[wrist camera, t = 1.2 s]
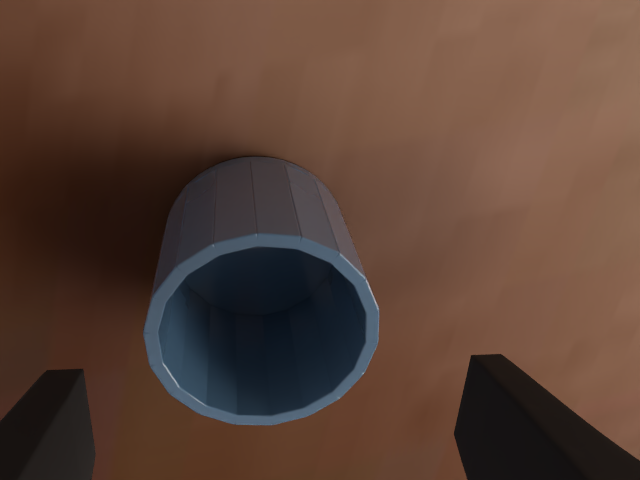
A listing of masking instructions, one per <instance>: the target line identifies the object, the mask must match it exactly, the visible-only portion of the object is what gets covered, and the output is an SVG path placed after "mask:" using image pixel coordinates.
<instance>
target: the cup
mask: <svg viewBox="0 0 640 480" xmlns="http://www.w3.org/2000/svg"><path fill="white" fill-rule="evenodd" d="M143 336H144V341H145V346H146V351H147V356H148V362H149V365H150V367H151V369H152V370H153V372H154V373H155V374H156V376H157V377H158V379H159V380H160V382H161V383H162V385H163V386H164V387H165V389H166V390H167V392H168V393H170V395H171V396H173V397H174V398H176V399H177V400H179V401H180V402H182V403H183V404H184V405H186V406H187V407H189V408H190V409H192V410H193V411H195V412H196V413H199V414H200V415H203V416H207V417H210V418H213V419H217V420H220V421H223V422H227V423H230V424H235V425H271V424H272V425H275V424H279V423H283V422H287V421H291V420H295V419H299V418H303V417H307V416H310V415H311V414H313V413H315V412H317V411H319V410H320V409H322V408H324V407H326V406H328V405H329V404H331V403H333V402H335V401H337V400H338V399H339V398H341V397H342V396H343V395H344V394H345V393H346V392H347V391H348V390H349V389H350V388H351V387H352V386H353V385H354V384H355V383H356V382H357V380H358V379H359V378H360V377H361V376H362V375H363V374H364V373H365V371H366V369H367V366H368V364H369V362H370V360H371V358H372V355H373V353H374V351H375V349H376V347H377V344H378V337H379V307H378V305H377V302H376V300H375V297H374V295H373V292H372V289H371V287H370V284H369V282H368V279H367V277H366V274H365V272H364V269H363V267H362V264H361V261H360V259H359V256H358V254H357V251H356V249H355V246H354V244H353V241H352V239H351V236H350V234H349V231H348V228H347V226H346V223H345V221H344V219H343V216H342V214H341V211H340V209H339V207H338V204H337V202H336V200H335V199H334V197H333V195H332V194H331V192H330V191H329V190H328V189H327V187H326V186H325V185H324V184H323V183H322V182H321V181H320V180H319V179H318V178H317V177H315V176H314V175H313V174H311V173H310V172H308V171H307V170H305V169H303V168H301V167H299V166H297V165H295V164H293V163H290V162H287V161H284V160H281V159H276V158H271V157H259V156H256V157H242V158H237V159H232V160H228V161H225V162H222V163H219V164H217V165H215V166H213V167H210V168H209V169H207V170H205V171H204V172H202V173H200V174H199V175H198V176H196V177H195V178H194V179H193V180H191V181H190V182H189V183H188V184H187V185H186V187H185V188H184V189H183V190H182V191H181V192H180V194H179V195H178V197H177V198H176V199H175V201H174V203H173V205H172V207H171V209H170V212H169V215H168V218H167V222H166V227H165V231H164V235H163V239H162V243H161V248H160V252H159V257H158V262H157V267H156V271H155V276H154V281H153V286H152V290H151V295H150V300H149V305H148V309H147V314H146V319H145V324H144V328H143Z"/></svg>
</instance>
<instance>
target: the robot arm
mask: <svg viewBox="0 0 640 480" xmlns="http://www.w3.org/2000/svg"><path fill="white" fill-rule="evenodd" d="M454 436H455V439H456V443H457V446H458V450H459V453H460V457H461V460H462V463H463V467H464V470H465V473H466V476H467V479H468V480H640V461H639V460H638V459H636V458H635V457H633V456H632V455H631V454H629V453H628V452H626V451H625V450H624V449H622V448H621V447H619V446H618V445H617V444H615V443H614V442H612V441H611V440H610V439H608V438H607V437H606V436H604V435H603V434H602V433H600V432H599V431H598V430H596V429H595V428H594V427H593V426H591V425H590V424H589V423H587V422H586V421H585V420H583V419H582V418H581V417H580V416H578V415H577V414H576V413H575V412H573V411H572V410H571V409H569V408H568V407H567V406H566V405H564V404H563V403H562V402H561V401H559V400H558V399H557V398H556V397H554V396H553V395H552V394H551V393H550V392H548V391H547V390H546V389H545V388H543V387H542V386H541V385H540V384H538V383H537V382H536V381H535V380H534V379H532V378H531V377H530V376H529V375H527V374H526V373H525V372H524V371H522V370H521V369H520V368H519V367H517V366H516V365H515V364H513V363H512V362H511V361H510V360H508V359H507V358H506V357H504V356H503V355H501V354H491V355H471V359H470V363H469V368H468V372H467V377H466V381H465V386H464V390H463V395H462V399H461V404H460V408H459V413H458V417H457V422H456V426H455V431H454ZM95 454H96V453H95V446H94V439H93V432H92V426H91V419H90V412H89V405H88V398H87V392H86V385H85V378H84V371H83V369H68V370H47V371H46V372H45V373H43V374H42V375H41V376H40V377H39V379H38V380H37V381H36V382H35V383H34V384H33V385H32V386H31V387H30V389H29V390H28V391H27V392H26V393H25V394H24V395H23V397H22V398H21V399H20V400H19V401H18V402H17V403H16V404H15V406H14V407H13V408H12V409H11V410H10V411H9V412H8V413H7V414H6V415H5V417H4V418H3V419H2V420H1V421H0V480H91V479H92V473H93V467H94V460H95Z"/></svg>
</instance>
